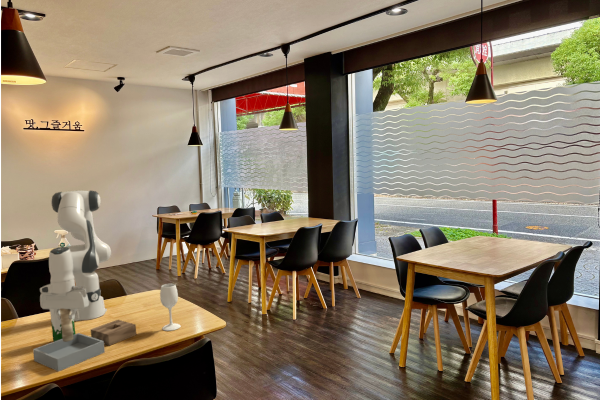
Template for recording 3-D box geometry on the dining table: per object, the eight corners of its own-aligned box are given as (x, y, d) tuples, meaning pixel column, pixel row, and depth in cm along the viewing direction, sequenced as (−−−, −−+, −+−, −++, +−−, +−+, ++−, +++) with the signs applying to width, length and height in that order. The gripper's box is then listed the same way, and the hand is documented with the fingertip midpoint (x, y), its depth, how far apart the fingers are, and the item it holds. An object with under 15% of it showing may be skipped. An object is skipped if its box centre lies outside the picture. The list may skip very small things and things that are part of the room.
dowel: (60, 341, 185) (57, 308, 184) (67, 337, 189) (64, 305, 187) (69, 341, 184) (66, 309, 183) (75, 337, 188) (72, 305, 187)
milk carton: (68, 336, 210) (64, 295, 209) (79, 339, 206) (75, 297, 204) (50, 343, 203) (45, 300, 201) (61, 346, 198) (56, 303, 196)
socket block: (91, 339, 204) (90, 329, 204) (118, 329, 216) (117, 319, 216) (109, 345, 197) (108, 334, 196) (136, 334, 208) (135, 324, 208)
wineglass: (158, 328, 215) (155, 286, 213) (174, 323, 221) (171, 282, 219) (168, 332, 209) (164, 289, 207) (184, 326, 215) (181, 284, 214)
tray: (34, 360, 185) (32, 349, 184) (79, 343, 201) (78, 332, 200) (58, 371, 174) (57, 359, 173) (104, 352, 190) (103, 341, 189)
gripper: (90, 284, 186) (93, 316, 187) (47, 284, 189) (50, 315, 190) (80, 288, 180) (83, 321, 181) (36, 288, 183) (39, 321, 184)
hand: (66, 318), depth 186 cm, fingers closed on dowel, 4 cm apart
